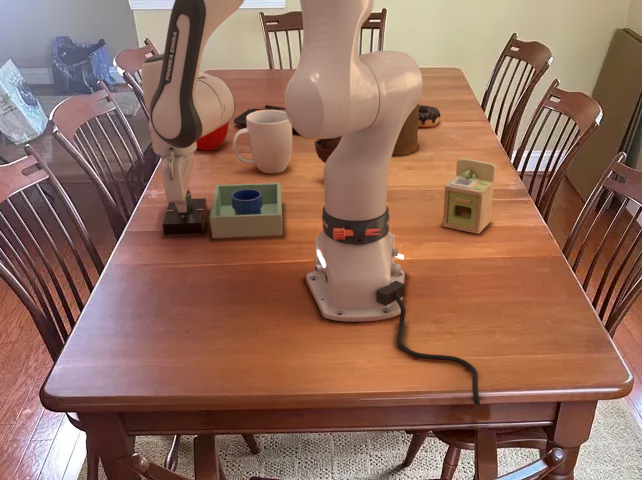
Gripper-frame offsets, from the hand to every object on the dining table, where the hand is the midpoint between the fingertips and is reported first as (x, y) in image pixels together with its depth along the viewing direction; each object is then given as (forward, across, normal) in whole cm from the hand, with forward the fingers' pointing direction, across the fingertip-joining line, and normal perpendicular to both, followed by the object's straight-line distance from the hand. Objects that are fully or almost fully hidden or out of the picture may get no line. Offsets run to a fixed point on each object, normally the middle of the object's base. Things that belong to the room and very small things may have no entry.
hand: (184, 205), depth 151 cm
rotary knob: (+1, 0, 0) cm, 1 cm away
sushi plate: (+4, +73, -26) cm, 77 cm away
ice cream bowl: (+4, +21, -34) cm, 41 cm away
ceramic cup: (+4, +48, -2) cm, 48 cm away
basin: (+4, 0, -14) cm, 14 cm away
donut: (+4, +65, -62) cm, 90 cm away
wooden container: (+4, +45, -50) cm, 68 cm away
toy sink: (+4, -6, -60) cm, 61 cm away
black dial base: (+4, 0, 0) cm, 4 cm away
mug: (+4, +31, -18) cm, 36 cm away
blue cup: (+4, 0, -14) cm, 14 cm away
